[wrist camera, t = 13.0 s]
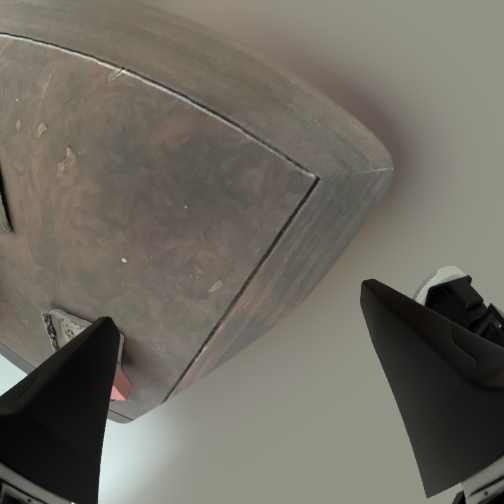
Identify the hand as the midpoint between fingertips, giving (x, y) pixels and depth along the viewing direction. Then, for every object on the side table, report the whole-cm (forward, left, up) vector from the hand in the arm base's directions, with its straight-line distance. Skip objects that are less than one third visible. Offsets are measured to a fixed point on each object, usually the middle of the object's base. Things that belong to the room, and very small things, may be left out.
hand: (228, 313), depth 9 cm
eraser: (-14, +16, -9) cm, 23 cm away
